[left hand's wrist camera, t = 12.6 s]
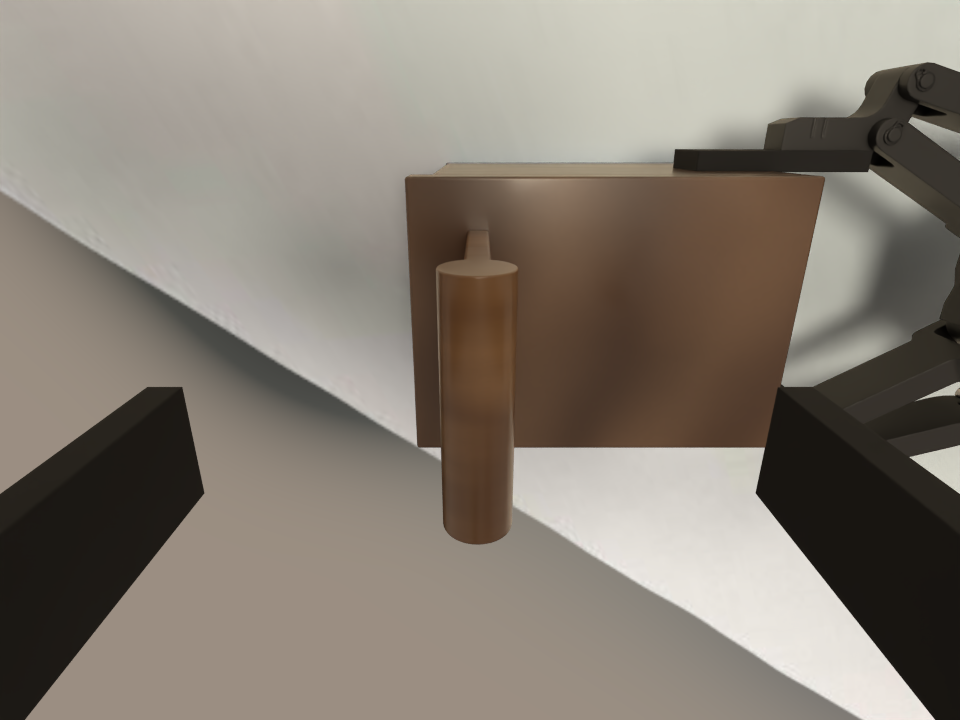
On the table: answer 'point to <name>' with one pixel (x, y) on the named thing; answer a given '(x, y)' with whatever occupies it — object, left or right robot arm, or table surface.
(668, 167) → the chest
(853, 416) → the right robot arm
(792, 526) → the left robot arm
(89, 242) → the table surface
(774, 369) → the lid
